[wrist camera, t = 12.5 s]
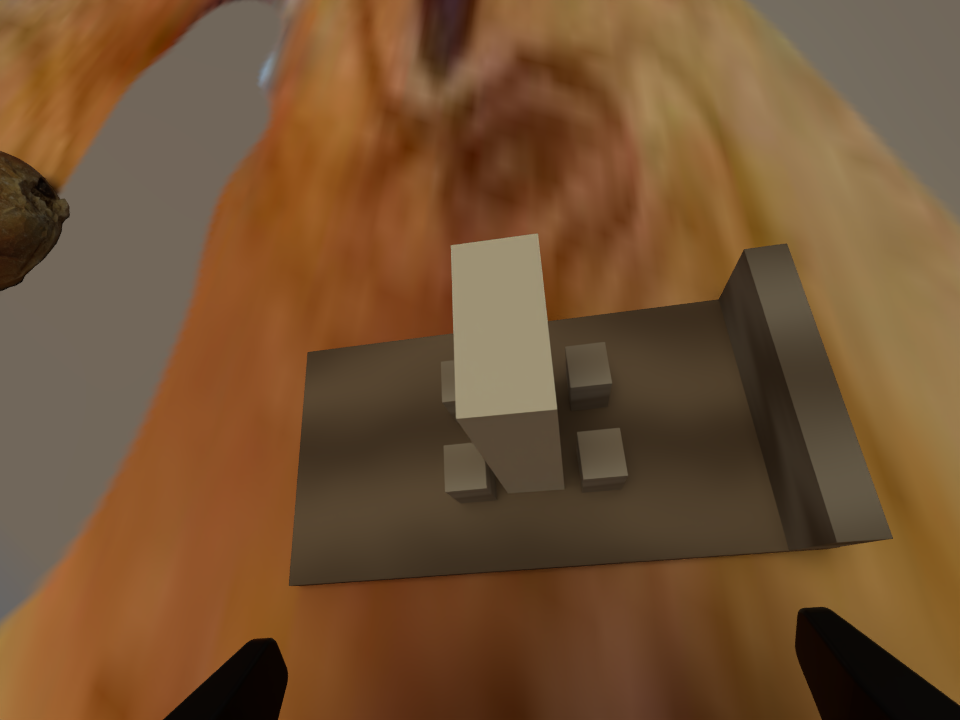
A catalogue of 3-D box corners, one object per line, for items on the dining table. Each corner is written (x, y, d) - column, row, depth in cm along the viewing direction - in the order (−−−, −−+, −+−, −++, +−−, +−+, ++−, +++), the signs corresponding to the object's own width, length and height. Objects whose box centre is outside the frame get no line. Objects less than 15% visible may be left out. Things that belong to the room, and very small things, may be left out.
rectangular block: (564, 489, 22) (557, 409, 12) (489, 494, 23) (423, 422, 13) (552, 379, 24) (538, 233, 14) (483, 386, 25) (422, 248, 15)
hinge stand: (828, 548, 21) (900, 538, 16) (299, 585, 23) (233, 585, 19) (752, 304, 25) (792, 242, 21) (316, 359, 28) (266, 315, 23)
